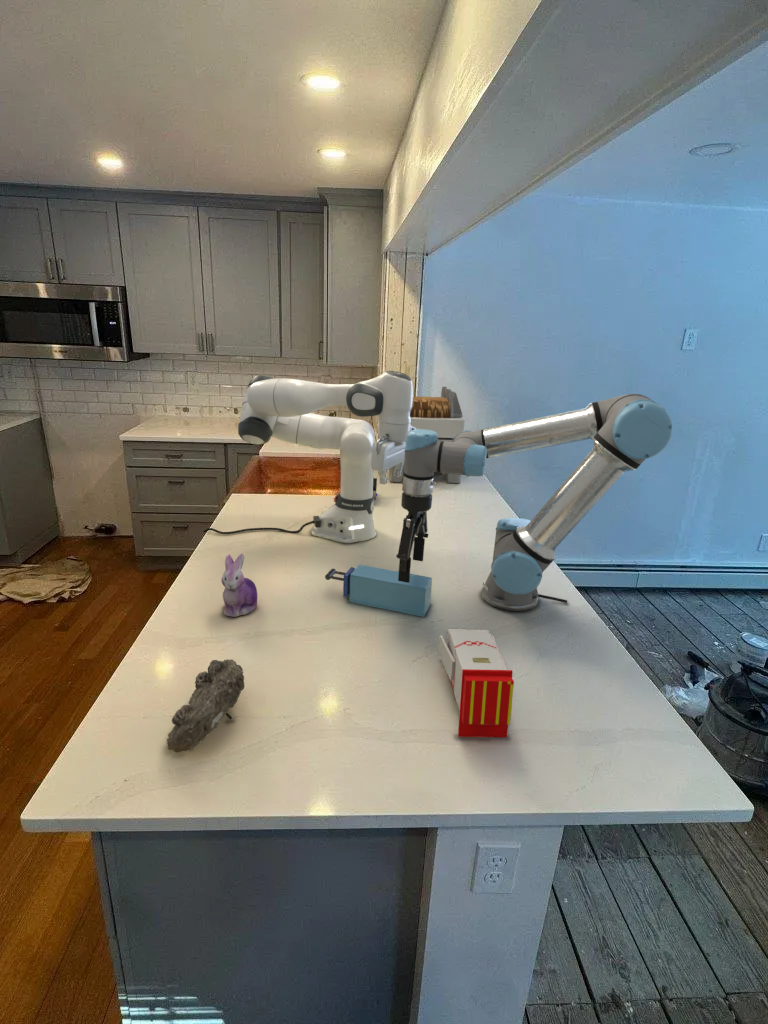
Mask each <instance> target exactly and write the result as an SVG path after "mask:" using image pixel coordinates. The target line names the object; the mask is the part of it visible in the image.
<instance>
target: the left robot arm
mask: <svg viewBox="0 0 768 1024" xmlns="http://www.w3.org/2000/svg"><path fill="white" fill-rule="evenodd" d="M413 396H414V387H413V381H412V378H411V377H410V376H409V375H408V374H406V373H404V372H401V371H396V370H386V371H384V372H383V373H382V374H380V375H378V376H376V377H372V378H370V379H366V380H362V381H359V382H357V383H335V384H334V383H333V384H332V383H324V382H318V381H317V382H316V381H310V380H304V379H297V378H287V377H285V378H284V377H282V378H281V377H280V378H278V377H277V378H274V377H272V376H270V375H265V374H258V375H255V376H254V375H253V376H252V378H251V379H250V380H249V382H248V384H247V390H246V392H245V394H244V397H243V401H242V404H241V412H240V418H239V423H237V424H238V425H237V433H238V436H239V437H240V438H241V439H242V440H243V442H246V443H248V444H252V445H258V446H261V445H265V444H268V443H269V441H270V440H271V438H274V439H276V440H279V441H282V442H285V443H288V444H292V445H297V446H301V447H307V448H310V449H311V448H312V449H317V450H339V463H340V465H339V466H340V490H339V491H338V492H337V494H336V495H335V496H334V497H333V502H334V504H333V505H331V506H329V507H328V508H326V509H325V510H323V512H321V514H320V515H313V516H312V517H313V519H312V520H311V521H308V522H306V523H303V524H302V525H301V526H300V528H299V529H298V530H288V529H284V528H281V527H250V528H249V527H248V528H244V529H243V528H242V529H238V530H232V531H221V530H218V529H216V528H213V527H208V528H207V527H206V528H205V529H204V530H203V533H207V532H208V531H211V532H215V533H217V534H220V535H232V534H238V533H244V532H252V531H278V532H283V533H290V534H298V533H300V532H302V531H303V529H304V528H305V527H307V526H309V525H312V524H313V526H312V528H311V530H310V533H311V536H315V537H319V538H323V539H326V540H330V541H336V542H339V543H343V544H352V543H357V542H365V541H368V540H372V539H373V538H375V537H376V535H377V532H376V528H375V523H374V513H373V512H374V509H375V499H374V496H373V478H374V474H375V473H374V471H376V472H377V474H378V478H379V480H378V481H379V484H380V485H386V484H387V483H388V478H389V477H388V476H387V473H388V470H390V468H391V467H393V466H395V465H396V467H395V470H394V476H397V477H399V476H401V470H402V468H403V465H404V458H405V447H406V439H407V434H408V433H409V432H410V431H411V430H416V428H414V427H412V426H410V425H411V419H410V411H411V408H412V401H413ZM330 407H347V409H348V410H349V412H350V413H352V414H353V415H354V416H356V417H359V418H360V417H361V418H367V417H368V418H369V417H373V416H374V417H377V418H378V425H377V427H378V429H377V438H378V440H376V433H375V430H374V427H373V426H372V425H371V423H369V422H368V421H367V420H364V419H357V418H349V417H341V416H330V415H329V416H328V415H323V414H317V413H315V412H317V411H319V410H322V409H325V408H330ZM403 469H404V468H403Z"/></svg>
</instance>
